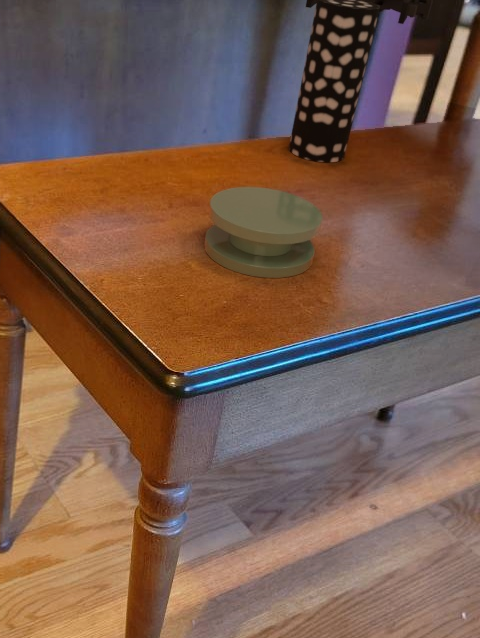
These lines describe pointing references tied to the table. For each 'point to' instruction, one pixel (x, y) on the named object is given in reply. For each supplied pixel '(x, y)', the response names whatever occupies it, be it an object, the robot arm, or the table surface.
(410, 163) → the table surface
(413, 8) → the robot arm
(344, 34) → the spotted tube
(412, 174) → the table surface
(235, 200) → the stand
